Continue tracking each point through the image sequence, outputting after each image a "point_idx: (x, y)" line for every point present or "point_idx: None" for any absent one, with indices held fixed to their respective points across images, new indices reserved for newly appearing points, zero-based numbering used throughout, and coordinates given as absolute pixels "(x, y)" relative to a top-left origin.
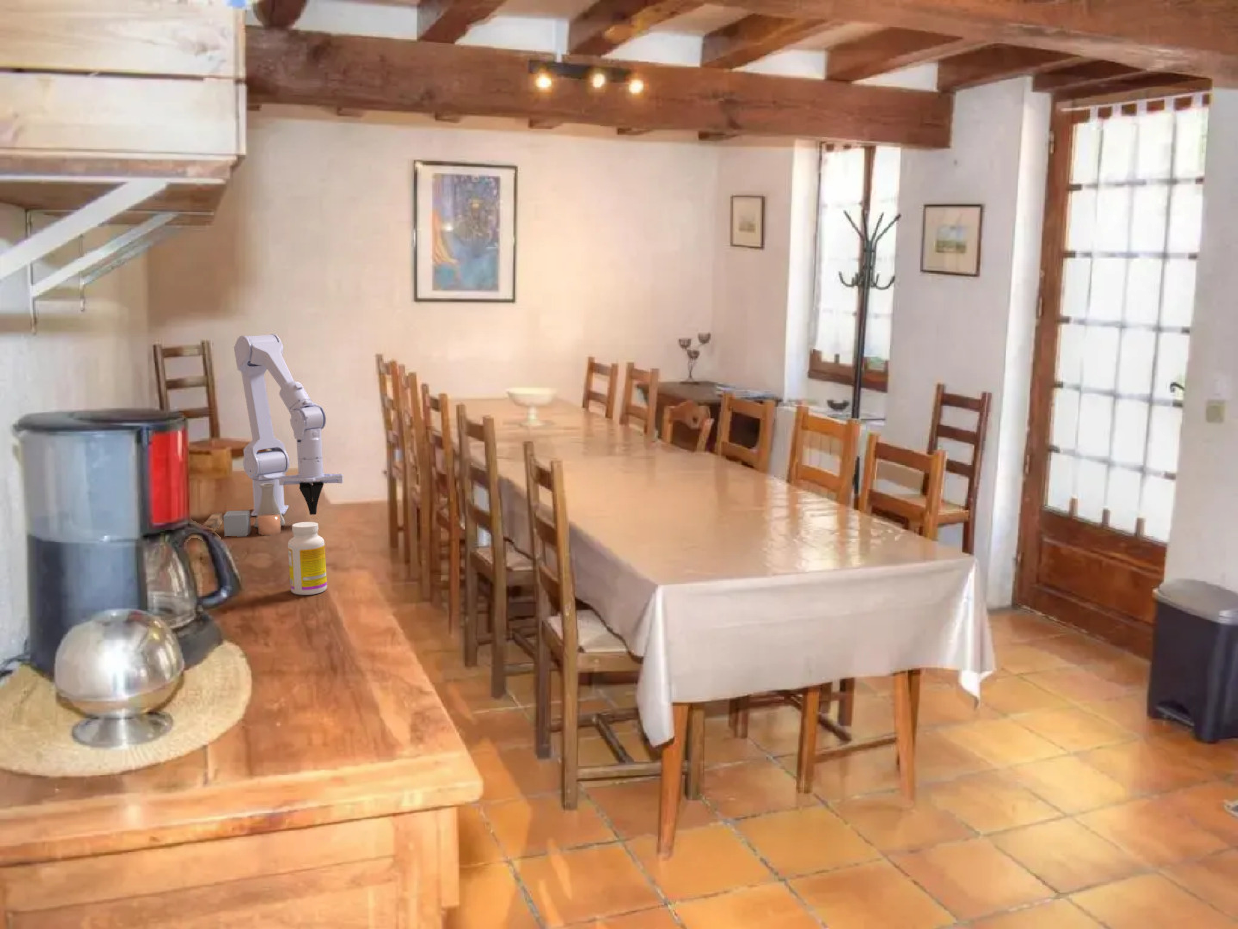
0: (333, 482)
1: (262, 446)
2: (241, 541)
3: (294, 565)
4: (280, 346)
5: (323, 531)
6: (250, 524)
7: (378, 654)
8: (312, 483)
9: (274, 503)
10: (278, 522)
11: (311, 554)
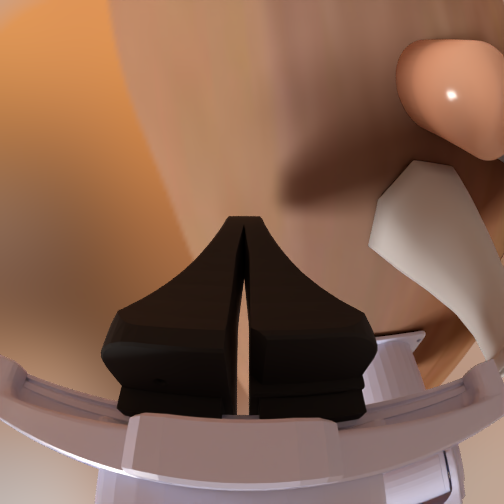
0: (51, 387)
1: None
2: (495, 8)
3: None
4: None
5: (173, 30)
6: (500, 157)
7: None
8: (228, 417)
9: (461, 266)
10: (433, 53)
11: None
